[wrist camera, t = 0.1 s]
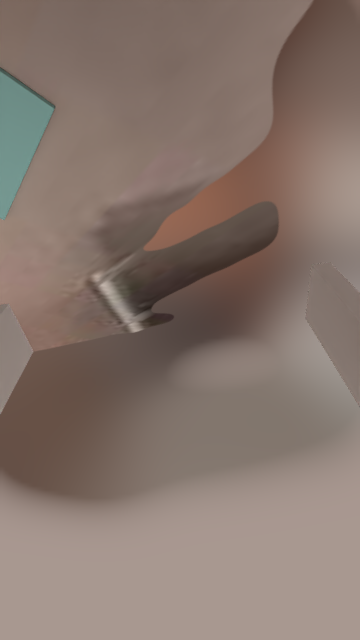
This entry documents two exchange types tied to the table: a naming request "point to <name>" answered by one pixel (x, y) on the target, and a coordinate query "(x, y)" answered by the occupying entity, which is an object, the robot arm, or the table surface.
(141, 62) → the table surface
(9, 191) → the mat
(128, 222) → the table surface
